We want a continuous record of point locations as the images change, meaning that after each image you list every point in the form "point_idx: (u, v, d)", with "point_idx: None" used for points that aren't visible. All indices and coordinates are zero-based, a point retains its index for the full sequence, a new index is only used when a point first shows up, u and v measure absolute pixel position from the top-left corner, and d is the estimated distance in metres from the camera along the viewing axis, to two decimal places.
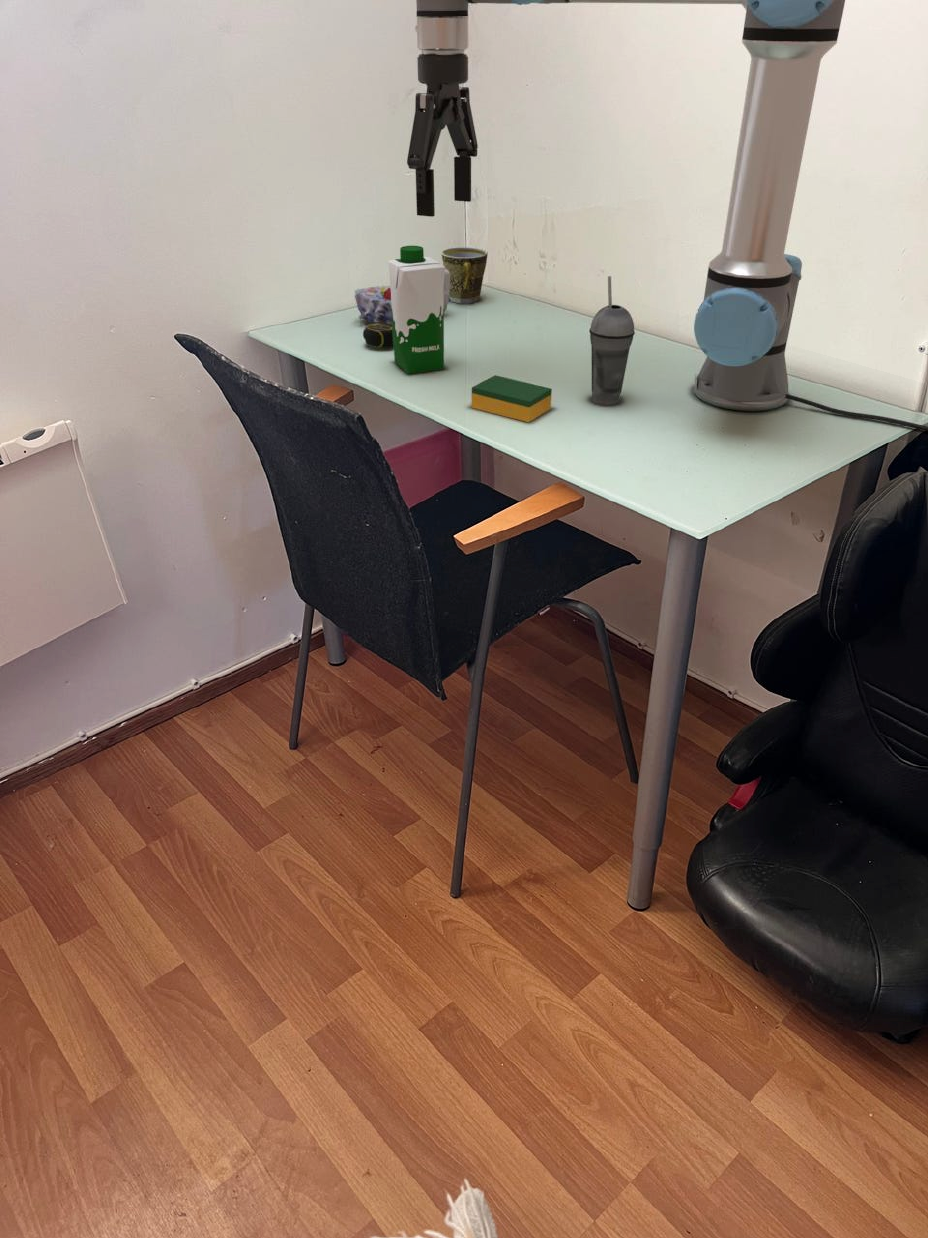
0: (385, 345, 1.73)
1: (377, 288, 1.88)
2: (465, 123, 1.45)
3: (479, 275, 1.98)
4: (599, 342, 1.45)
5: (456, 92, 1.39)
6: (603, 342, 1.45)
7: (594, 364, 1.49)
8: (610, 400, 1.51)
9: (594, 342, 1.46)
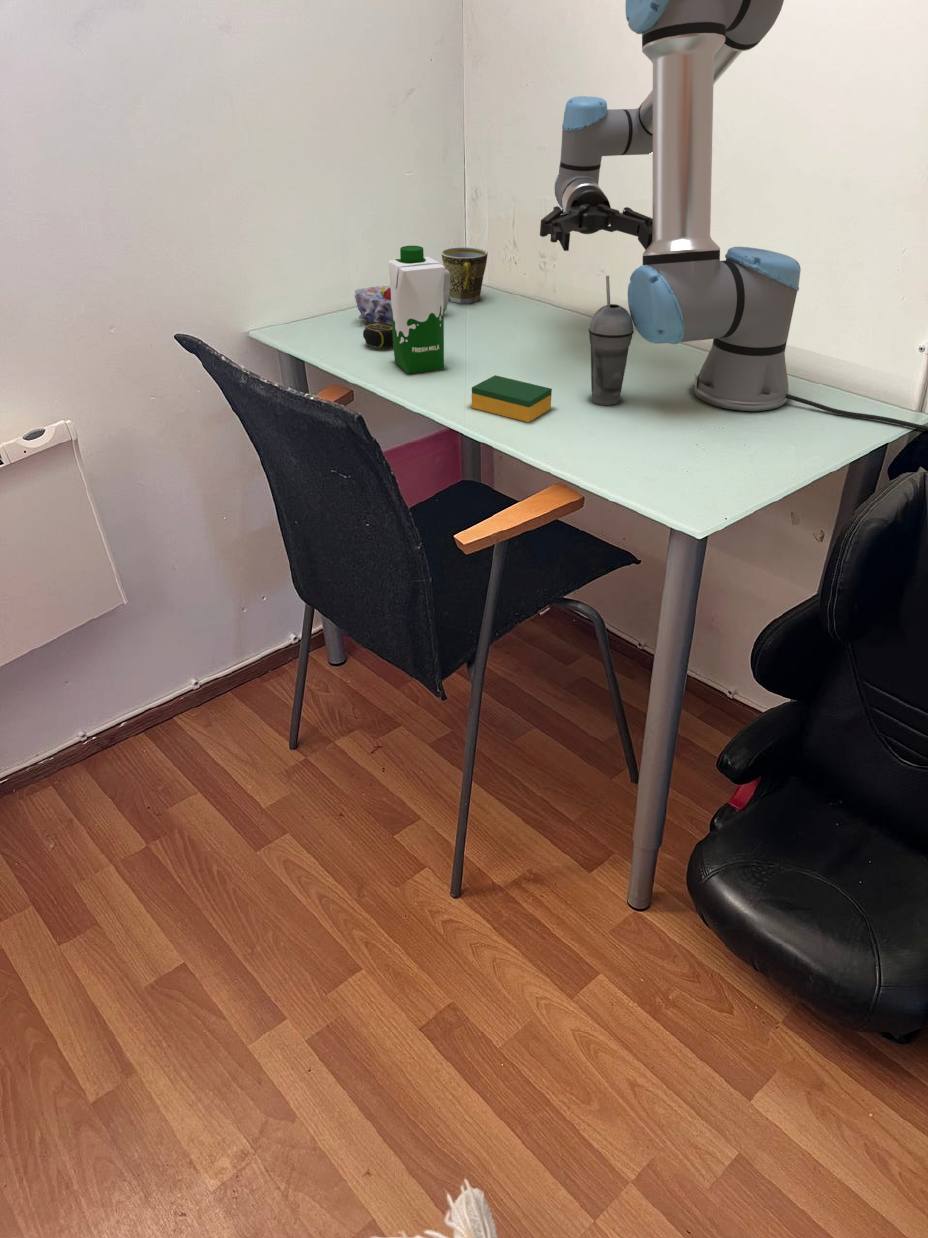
0: (385, 345, 1.73)
1: (377, 288, 1.88)
2: None
3: (479, 275, 1.98)
4: (598, 341, 1.45)
5: None
6: (602, 341, 1.45)
7: (593, 364, 1.49)
8: (610, 399, 1.51)
9: (593, 342, 1.46)
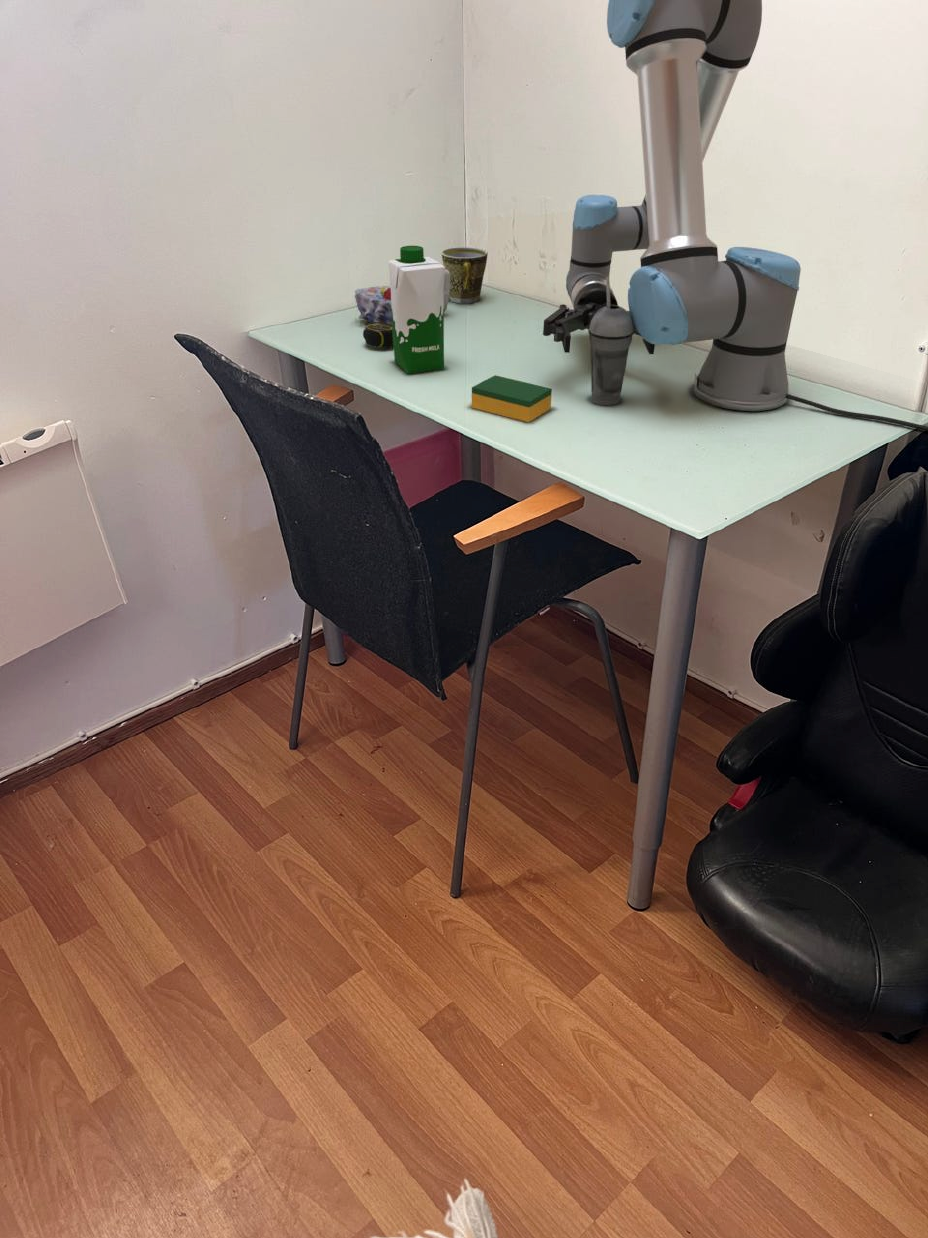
0: (385, 345, 1.73)
1: (377, 288, 1.88)
2: None
3: (479, 275, 1.98)
4: (598, 343, 1.45)
5: None
6: (602, 343, 1.45)
7: (593, 364, 1.48)
8: (610, 400, 1.51)
9: (593, 343, 1.46)
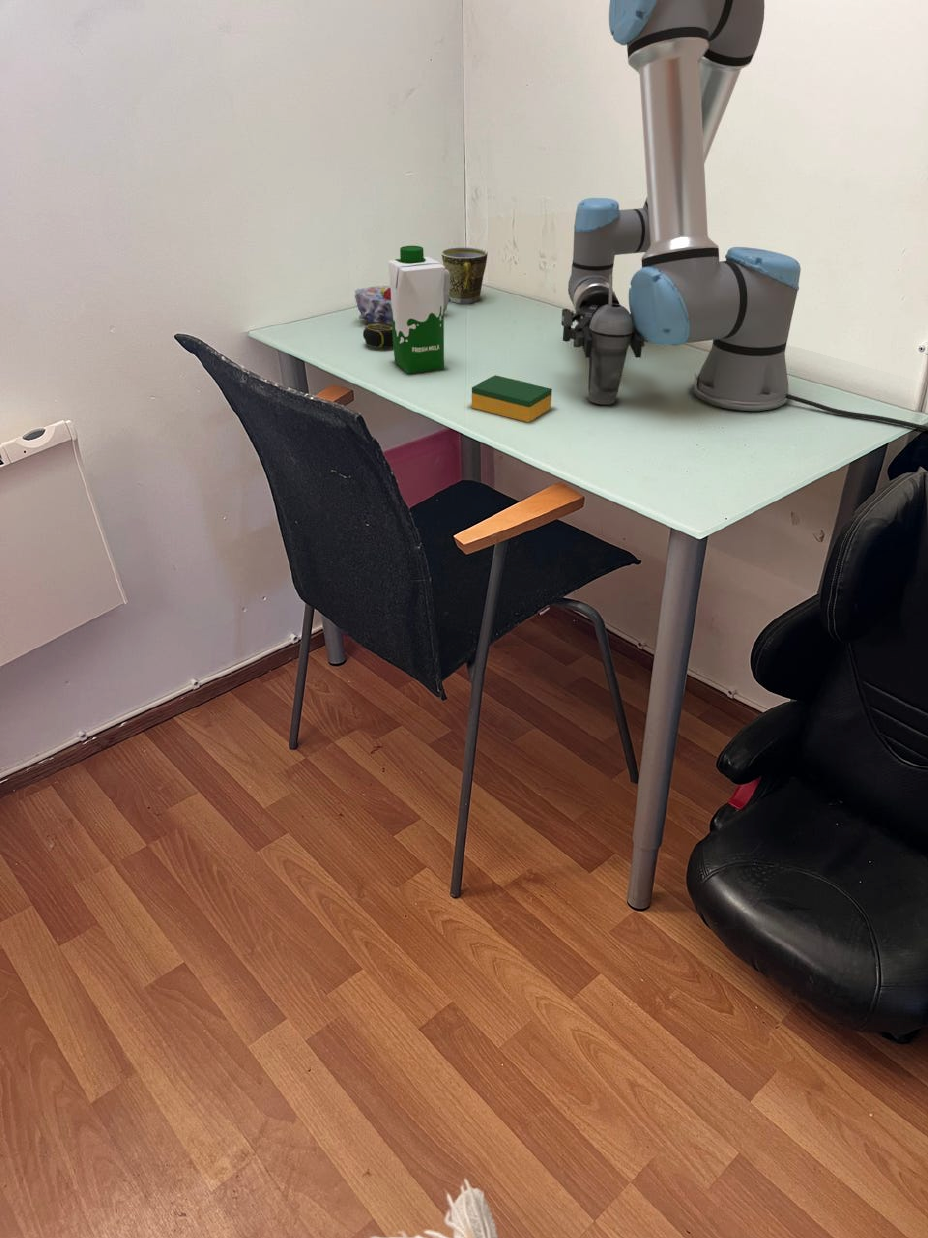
0: (385, 345, 1.73)
1: (377, 288, 1.88)
2: None
3: (479, 275, 1.98)
4: (599, 340, 1.45)
5: None
6: (603, 340, 1.44)
7: (592, 362, 1.48)
8: (607, 399, 1.50)
9: (593, 340, 1.46)
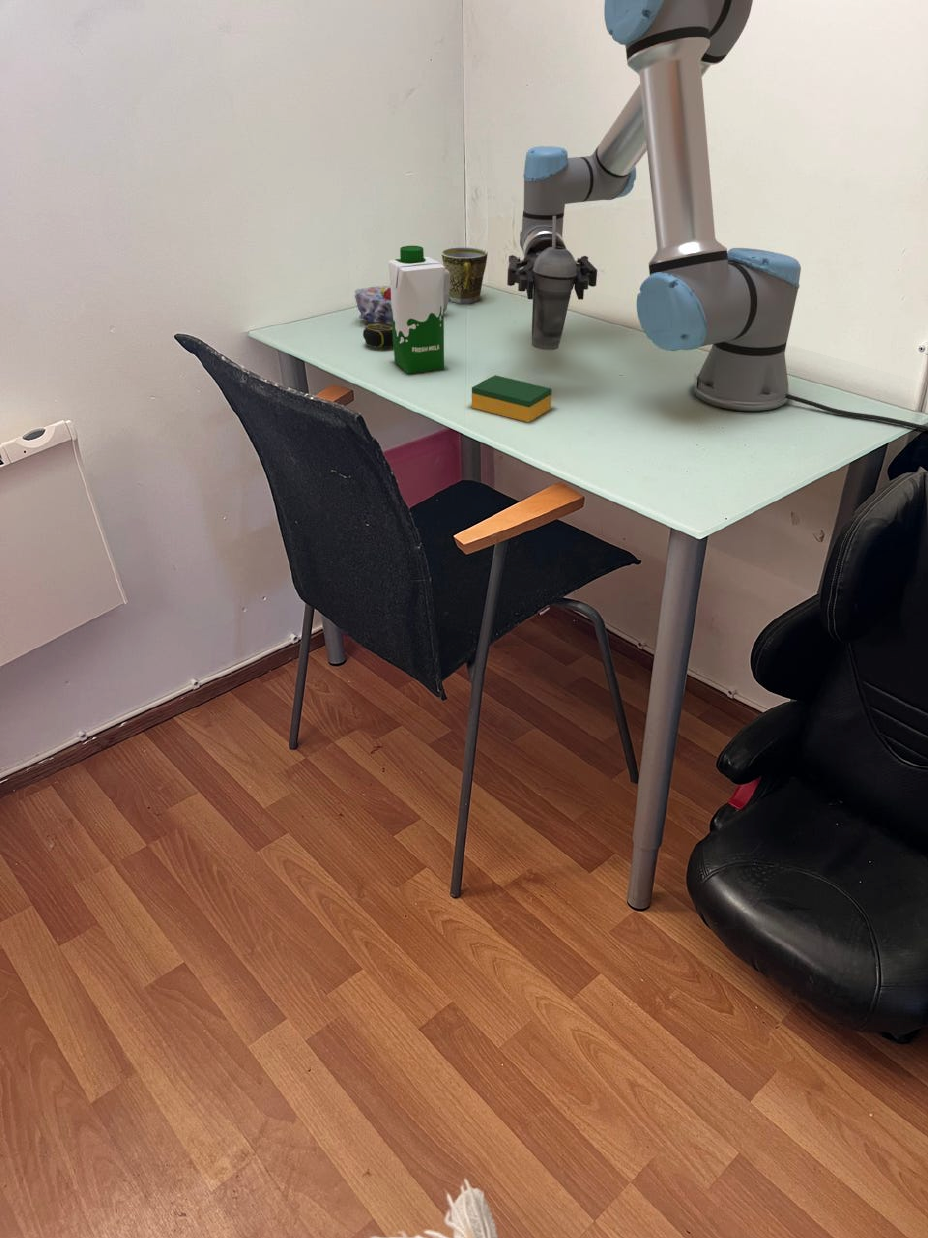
0: (385, 345, 1.73)
1: (377, 288, 1.88)
2: None
3: (479, 275, 1.98)
4: (541, 282, 1.44)
5: None
6: (545, 282, 1.43)
7: (535, 306, 1.47)
8: (549, 344, 1.50)
9: (536, 283, 1.45)
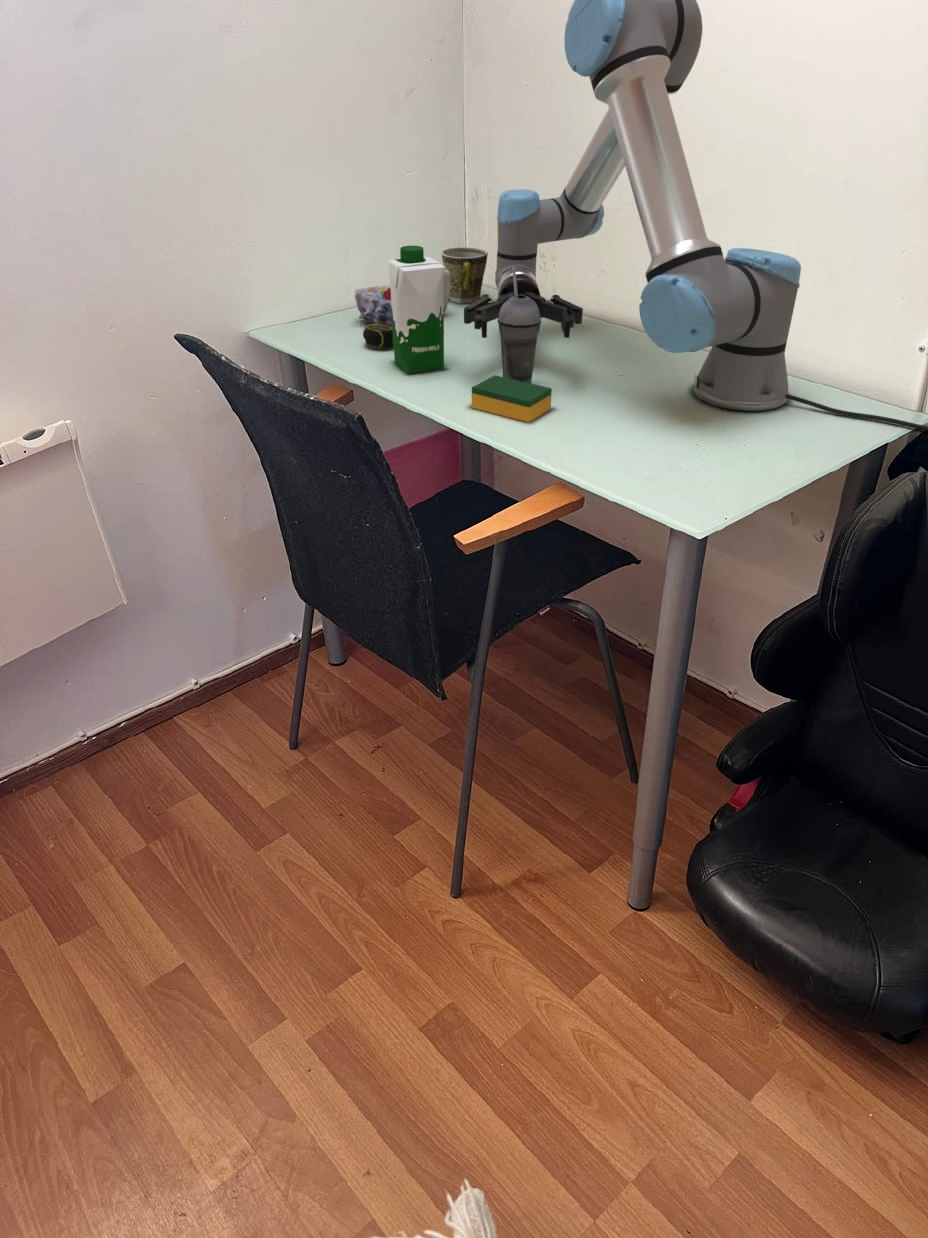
0: (385, 345, 1.73)
1: (377, 288, 1.88)
2: (562, 307, 1.59)
3: (479, 275, 1.98)
4: (506, 331, 1.50)
5: None
6: (510, 331, 1.49)
7: (503, 353, 1.53)
8: None
9: (502, 331, 1.51)
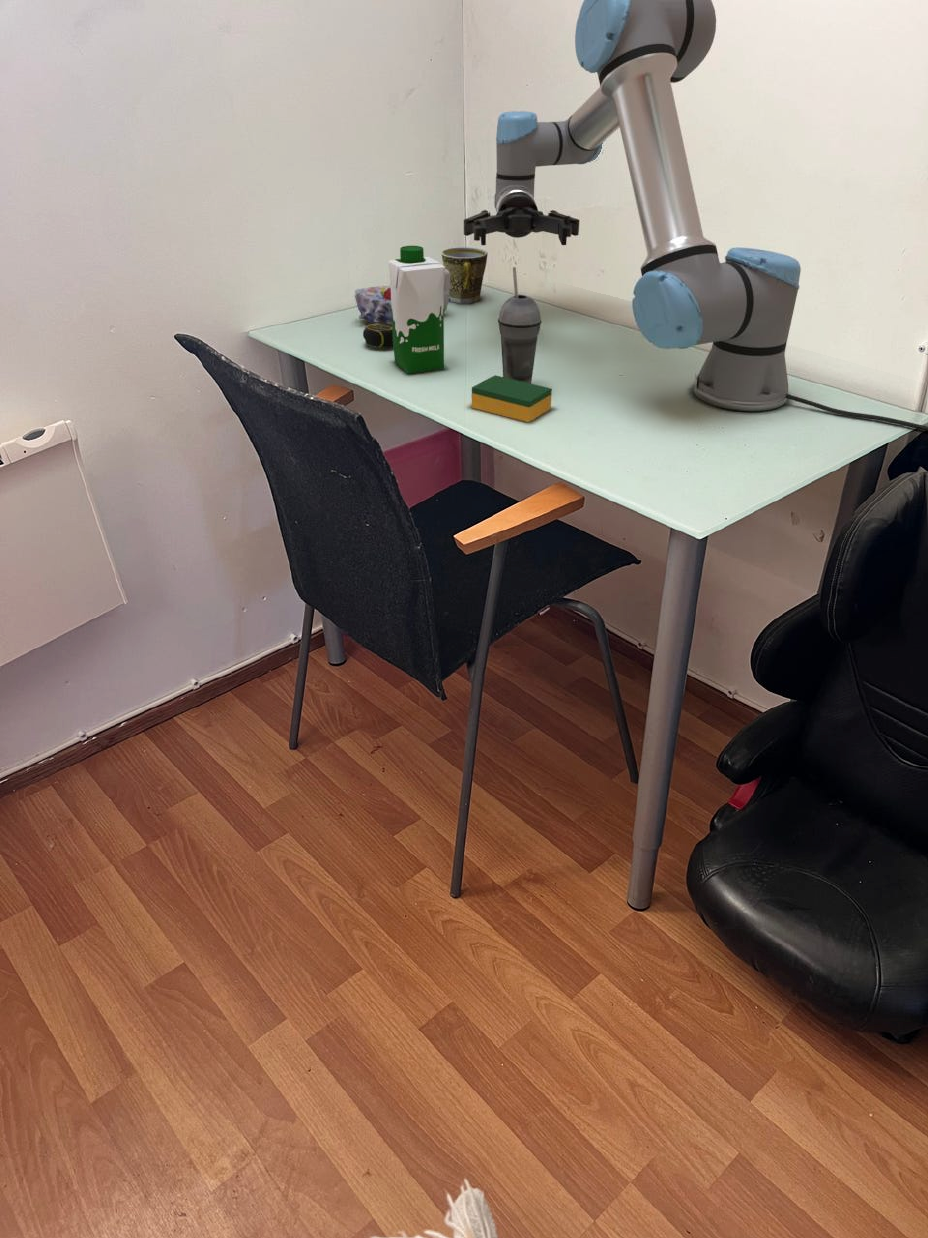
0: (385, 345, 1.73)
1: (377, 288, 1.88)
2: None
3: (479, 275, 1.98)
4: (507, 331, 1.50)
5: None
6: (510, 331, 1.49)
7: (503, 353, 1.53)
8: None
9: (502, 331, 1.51)
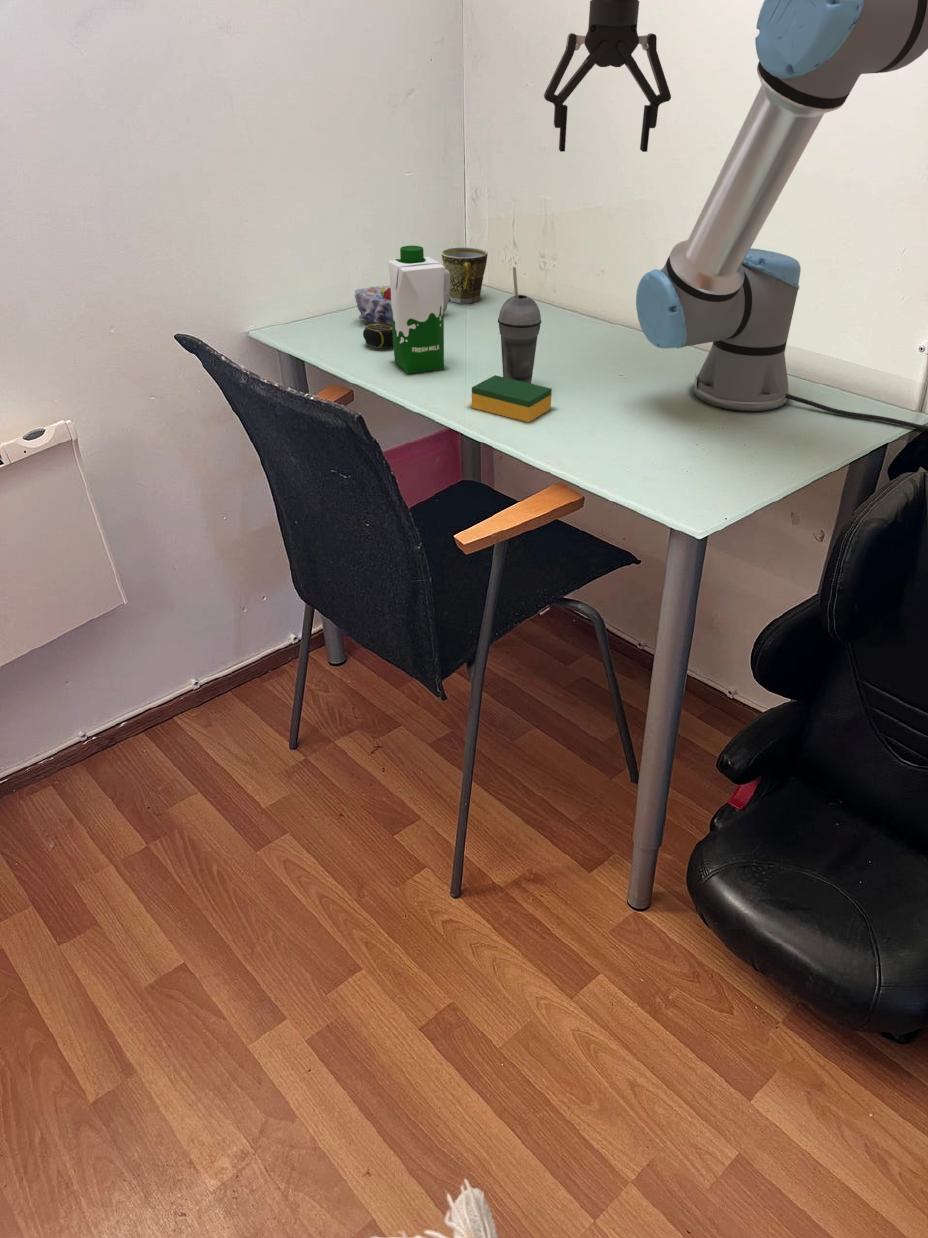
0: (385, 345, 1.73)
1: (377, 288, 1.88)
2: (653, 71, 1.45)
3: (479, 275, 1.98)
4: (507, 331, 1.50)
5: (627, 37, 1.42)
6: (510, 331, 1.49)
7: (503, 353, 1.53)
8: None
9: (502, 331, 1.51)
